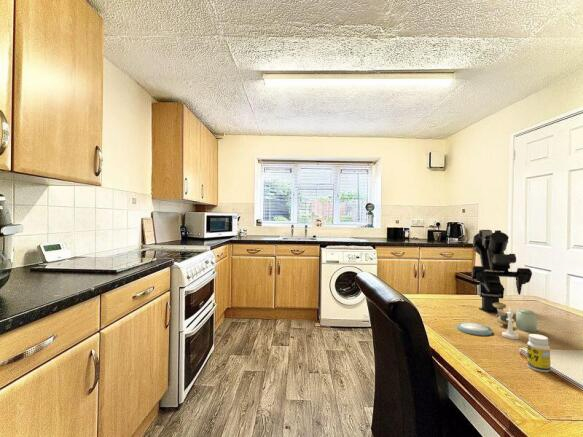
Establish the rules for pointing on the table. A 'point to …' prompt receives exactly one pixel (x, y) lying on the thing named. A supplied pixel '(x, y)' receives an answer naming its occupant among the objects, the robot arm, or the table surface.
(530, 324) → the sage cup
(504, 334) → the chess piece
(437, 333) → the table surface
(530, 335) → the supplement bottle
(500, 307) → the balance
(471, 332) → the dish
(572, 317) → the table surface
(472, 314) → the table surface
